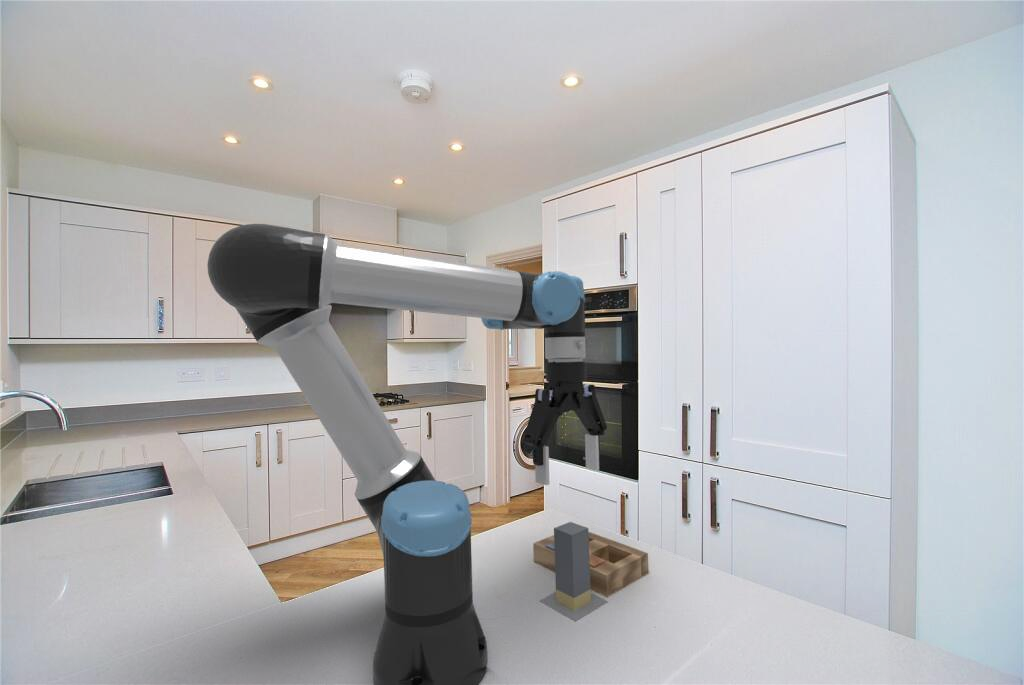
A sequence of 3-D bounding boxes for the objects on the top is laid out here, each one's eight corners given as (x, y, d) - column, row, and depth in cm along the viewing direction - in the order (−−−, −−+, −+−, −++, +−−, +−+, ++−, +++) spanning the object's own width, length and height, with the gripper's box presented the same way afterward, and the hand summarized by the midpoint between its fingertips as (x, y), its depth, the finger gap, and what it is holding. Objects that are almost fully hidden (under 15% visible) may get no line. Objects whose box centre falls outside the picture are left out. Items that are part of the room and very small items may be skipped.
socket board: (607, 599, 78) (606, 572, 78) (533, 563, 92) (533, 541, 92) (648, 575, 86) (647, 550, 86) (575, 545, 99) (574, 524, 99)
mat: (575, 624, 71) (575, 621, 71) (539, 603, 77) (539, 600, 77) (608, 604, 76) (608, 601, 76) (572, 586, 83) (572, 583, 83)
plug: (574, 610, 74) (571, 534, 74) (556, 601, 77) (553, 528, 77) (590, 601, 77) (588, 528, 77) (572, 592, 80) (570, 521, 80)
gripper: (530, 363, 75) (533, 495, 75) (622, 358, 92) (626, 466, 91) (500, 363, 81) (503, 485, 81) (593, 358, 97) (595, 460, 97)
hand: (568, 475), depth 86 cm, fingers open, 13 cm apart
